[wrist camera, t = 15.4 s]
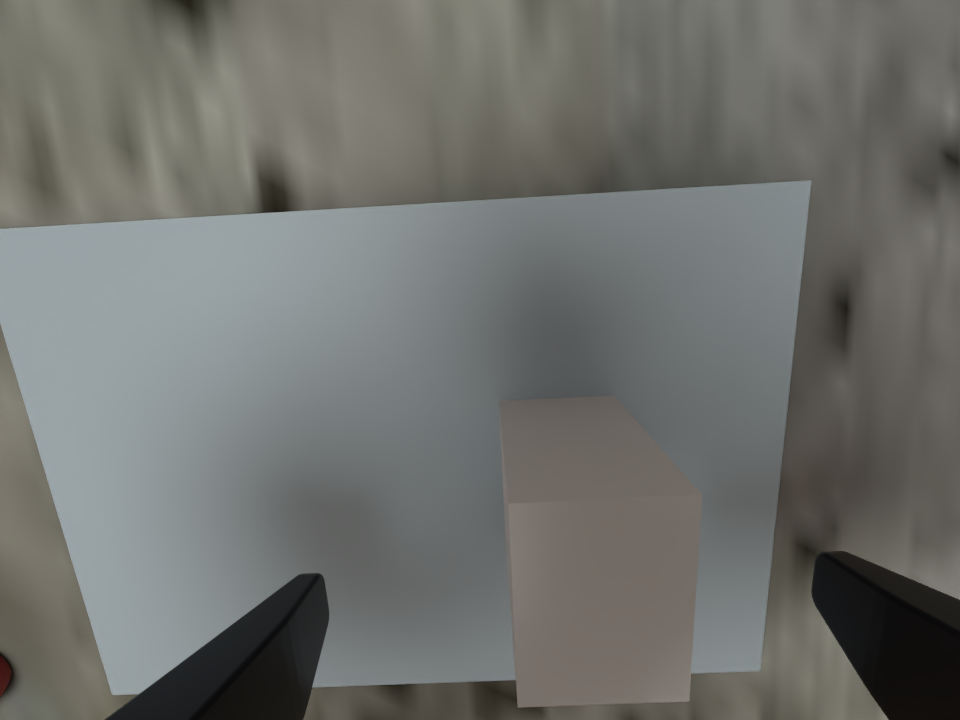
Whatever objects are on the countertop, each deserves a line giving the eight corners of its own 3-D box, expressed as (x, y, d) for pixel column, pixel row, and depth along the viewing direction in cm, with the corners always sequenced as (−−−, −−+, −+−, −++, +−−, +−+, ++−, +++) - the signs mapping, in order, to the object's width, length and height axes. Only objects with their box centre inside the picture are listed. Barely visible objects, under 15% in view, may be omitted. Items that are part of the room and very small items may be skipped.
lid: (784, 185, 12) (1080, 124, 6) (742, 643, 15) (905, 895, 9) (13, 232, 12) (-420, 217, 6) (135, 666, 15) (-76, 920, 10)
